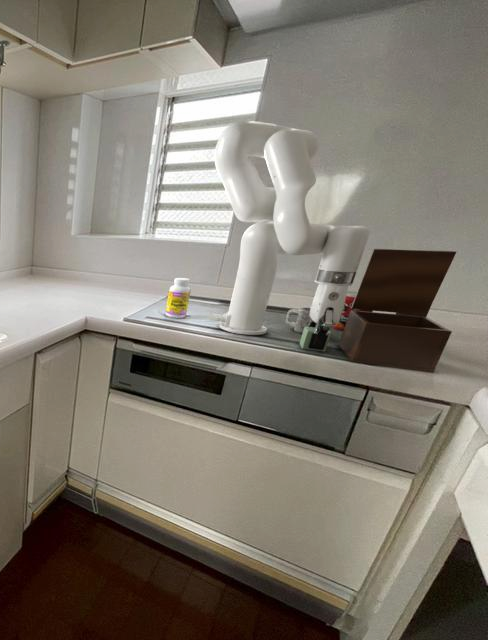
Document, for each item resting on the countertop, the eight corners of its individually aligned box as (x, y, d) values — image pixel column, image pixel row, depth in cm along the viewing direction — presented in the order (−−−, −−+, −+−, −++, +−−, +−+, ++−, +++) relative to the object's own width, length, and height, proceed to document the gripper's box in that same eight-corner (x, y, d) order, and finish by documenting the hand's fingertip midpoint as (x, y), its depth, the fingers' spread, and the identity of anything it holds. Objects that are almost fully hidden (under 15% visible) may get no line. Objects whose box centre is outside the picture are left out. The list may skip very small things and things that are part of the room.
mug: (325, 332, 121) (332, 310, 119) (314, 335, 118) (321, 313, 116) (288, 324, 129) (294, 304, 127) (278, 327, 126) (283, 307, 124)
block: (302, 348, 108) (307, 330, 106) (299, 343, 112) (304, 326, 110) (325, 351, 105) (331, 333, 103) (321, 346, 109) (327, 328, 108)
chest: (433, 372, 92) (452, 331, 88) (352, 361, 98) (366, 323, 95) (409, 353, 104) (425, 316, 100) (338, 345, 110) (350, 310, 107)
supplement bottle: (165, 317, 139) (172, 279, 134) (164, 313, 145) (170, 276, 140) (186, 319, 137) (194, 280, 132) (184, 314, 143) (191, 277, 138)
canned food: (325, 325, 128) (337, 291, 124) (351, 325, 128) (363, 291, 124) (344, 332, 121) (357, 296, 117) (371, 332, 121) (385, 296, 117)
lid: (456, 251, 92) (447, 247, 97) (374, 249, 99) (369, 245, 103) (426, 315, 100) (419, 309, 104) (351, 308, 106) (347, 303, 110)
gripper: (363, 284, 93) (337, 356, 100) (345, 274, 107) (323, 338, 114) (323, 281, 96) (301, 352, 103) (310, 272, 110) (291, 334, 117)
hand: (313, 344), depth 108 cm, fingers open, 6 cm apart
